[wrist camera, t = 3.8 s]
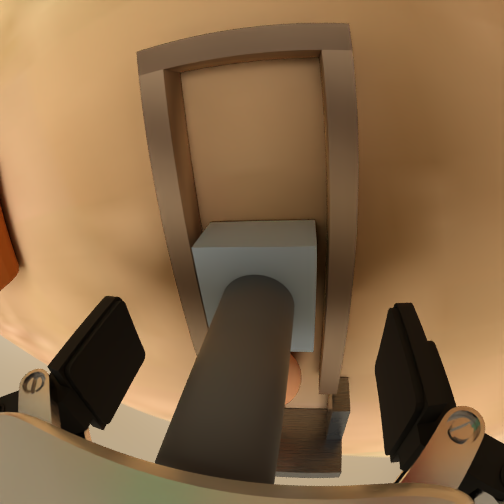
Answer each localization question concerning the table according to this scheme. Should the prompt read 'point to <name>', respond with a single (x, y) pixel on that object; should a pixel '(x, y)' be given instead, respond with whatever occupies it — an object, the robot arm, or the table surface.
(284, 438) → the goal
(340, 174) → the frame
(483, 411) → the table surface
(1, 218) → the alarm clock
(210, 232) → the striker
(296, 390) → the ball
